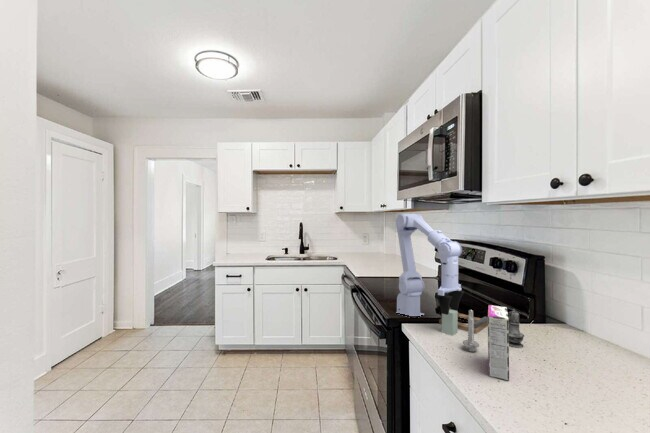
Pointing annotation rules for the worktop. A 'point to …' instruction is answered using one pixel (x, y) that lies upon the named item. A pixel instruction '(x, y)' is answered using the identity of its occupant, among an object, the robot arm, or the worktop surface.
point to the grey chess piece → (514, 330)
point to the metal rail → (480, 322)
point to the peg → (450, 322)
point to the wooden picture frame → (465, 326)
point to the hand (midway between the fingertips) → (449, 311)
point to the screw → (470, 334)
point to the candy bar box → (498, 342)
